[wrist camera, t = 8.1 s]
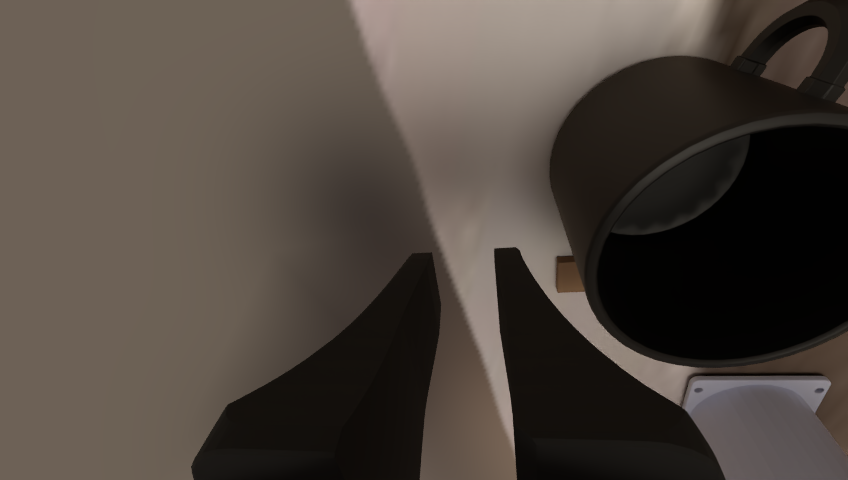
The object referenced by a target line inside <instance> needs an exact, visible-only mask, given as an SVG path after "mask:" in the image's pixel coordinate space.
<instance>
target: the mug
mask: <svg viewBox="0 0 848 480" xmlns="http://www.w3.org/2000/svg"><path fill="white" fill-rule="evenodd" d="M815 27H825V28H827V30H828V40H827V45H826V48H825V51H824V53H823V56H822V58H821V60H820V61H819V63H818V65H817V67H816V68H815V70H814V71H813V73H812V75H811V76H810V77H806V78H805V79H804V81H803V82H802V83H801V84H800V86H799V87H798V88H797V89H794V88H791V87H789V86H786V85H783V84H780V83H777V82H774V81H771V80H768V79H765V78H763V77H760V75H761V74H762V73H763V71H764V70H765V68H766V65H765V64H766V63H767V62H768V60H769V59H770V58H771V57H772V56H773V55H774V54H775V53H776V51H778V50H779V49H780V48H781V47H782V46H783V45H784V44H785V43H786V42H788V41H789V40H790V39H792V38H793V37H795V36H796V35H798V34H800V33H802V32H804V31H806V30H808V29H811V28H815ZM847 81H848V0H808V1H806V2H804V3H803V4H801V5H799V6H797V7H795V8H794V9H792V10H790V11H788V12H786V13H785V14H783V15H782V16H780V17H779V18H777V19H776V20H775V21H774V22H772V23H771V24H770V25H769V26H768V27H767V28H765V29H764V30H763V31H762V32H761V33H760V34H759V35H758V36H757V37H756V38H755V39H754V41H753V42H752V43H751V44H750V45H749V47H748V48H747V49H746V50H745V52H744V53H743V54H742V55H741V56H737V57H736V58H735V60H734V61H733V63H732V64H731V66H728V65H725V64H722V63H719V62H716V61H713V60H708V59H704V58H699V57H689V56H674V57H664V58H659V59H654V60H650V61H646V62H642V63H640V64H637V65H635V66H632V67H630V68H627V69H625V70H623V71H621V72H619V73H617V74H616V75H614V76H612V77H610V78H608V79H607V80H605V81H604V82H603V83H601V84H600V85H599V86H597V87H596V88H595V89H593V90H592V91H591V92H590V93H589V94H588V95H587V96H586V97H585V98H584V99H583V100H582V101H581V102H580V103H579V104H578V105H577V106H576V107H575V109H574V110H573V111H572V112H571V114H570V115H569V116H568V118H567V119H566V121H565V123H564V124H563V126H562V128H561V130H560V131H559V134H558V136H557V139H556V141H555V144H554V147H553V150H552V155H551V159H550V183H551V189H552V192H553V195H554V198H555V201H556V204H557V207H558V210H559V213H560V217H561V220H562V223H563V226H564V229H565V232H566V235H567V238H568V241H569V244H570V247H571V250H572V253H573V256H574V259H575V262H576V266H577V269H578V272H579V275H580V278H581V281H582V284H583V287H584V290H585V293H586V296H587V299H588V302H589V305H590V307H591V309H592V311H593V313H594V314H595V316H596V318H597V320H598V321H599V322H600V323H601V325H602V326H603V327H604V328H605V329H606V330H607V331H608V332H609V333H610V334H611V335H612V336H613V337H614V338H616V339H617V340H618V341H619V342H621V343H622V344H623V345H625V346H626V347H628V348H630V349H632V350H634V351H636V352H637V353H640V354H642V355H644V356H647V357H650V358H652V359H655V360H658V361H662V362H666V363H671V364H675V365H682V366H690V367H705V368H721V367H736V366H745V365H751V364H757V363H763V362H767V361H772V360H776V359H780V358H784V357H787V356H791V355H794V354H797V353H799V352H802V351H805V350H808V349H811V348H813V347H816V346H818V345H820V344H823V343H825V342H827V341H829V340H832V339H834V338H836V337H838V336H840V335H842V334H843V333H845V332H847V331H848V107H846V106H843V105H840V104H838V103H835V102H836V100H837V99H838V98H839V97H840V96H841V94H842V93H843V92H844V91H845V88H844V86H845V84H846V83H847Z"/></svg>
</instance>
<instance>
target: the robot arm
mask: <svg viewBox="0 0 848 480" xmlns="http://www.w3.org/2000/svg"><path fill="white" fill-rule="evenodd" d="M494 258H495V273H496V286H497V298H498V311H499V324H500V334H501V341H502V347H503V353H504V359H505V366H506V372H507V378H508V384H509V391H510V397H511V405H512V413H513V427H514V442H515V457H516V472H517V480H848V456H847V455H846V453H845V452H844V451H843V450H842V448H841V447H840V446H839V444H838V443H837V442H836V440H835V439H834V438H833V436H832V435H831V434H830V433H829V431H828V430H827V429H826V427H825V426H824V425H823V423H822V422H821V421H820V420H819V418H818V417H817V416H816V414H815V412H816V410H817V409H818V407H819V405H820V403H821V401H822V400H823V398H824V396H825V394H826V393H827V391H828V389H829V387H830V385H831V382H830V381H829V380H828V378H827V377H825V376H695V377H693V378H691V379H690V381H689V384H688V388H687V392H686V395H685V399H684V402H683V406H682V408H681V407H680V406H678V405H676V404H675V403H673V402H672V401H670V400H668V399H667V398H665V397H663V396H662V395H660V394H659V393H657V392H655V391H654V390H652V389H651V388H649V387H647V386H646V385H644V384H643V383H641V382H640V381H638V380H637V379H635V378H634V377H633V376H631V375H630V374H628V373H627V372H626V371H624V370H623V369H622V368H620V367H619V366H618V365H617V364H615V363H614V362H613V361H612V360H611V359H609V358H608V357H607V356H606V355H604V354H603V353H602V352H601V351H599V350H598V349H597V348H596V347H595V346H593V345H592V344H591V343H590V342H589V341H588V340H587V339H586V338H585V337H584V336H583V335H582V334H580V332H579V331H578V330H577V329H576V328H575V327H574V326H573V325H572V324H571V323H570V322H569V321H568V320H567V319H566V318H565V317H564V316H563V315H562V314H561V312H560V311H559V310H558V309H557V308H556V307H555V305H554V304H553V303H552V302H551V301H550V299H549V298H548V297H547V295H546V294H545V293H544V291H543V290H542V289H541V287H540V286H539V284H538V283H537V281H536V280H535V279H534V277H533V276H532V274H531V272H530V271H529V269H528V267H527V266H526V264H525V262H524V260H523V258H522V256H521V253H520V250H518V249H517V248H516V247H513V248H497V249H494ZM440 313H441V302H440V296H439V291H438V285H437V280H436V273H435V268H434V262H433V256H432V253H414V254H412V255H411V256H410V257H409V258H408V259H407V260H406V262H405V263H404V264H403V266H402V267H401V268H400V269H399V271H398V272H397V273H396V274H395V276H394V277H393V278H392V280H391V281H390V282H389V283H388V284H387V286H386V287H385V288H384V289H383V290H382V292H381V293H380V294H379V295H378V296H377V297H376V298H375V300H374V301H373V302H372V303H371V304H370V305H369V306H368V307H367V308H366V309H365V310H364V311H363V312H362V313H361V314H360V315H359V316H358V317H357V318H356V319H355V320H354V321H353V322H352V323H351V324H350V325H349V326H348V327H347V328H345V330H343V331H342V332H341V333H340V334H339V335H337V336H336V337H335V338H334V339H333V340H331V341H330V342H328V343H327V344H326V345H325V346H323V347H322V348H321V349H319V350H318V351H317V352H315V353H314V354H313V355H311V356H310V357H309V358H307V359H306V360H304V361H303V362H301V363H300V364H298V365H297V366H295V367H294V368H292V369H291V370H289V371H288V372H286V373H284V374H283V375H281V376H279V377H278V378H276V379H274V380H273V381H271V382H269V383H268V384H266V385H264V386H262V387H260V388H258V389H257V390H255V391H253V392H251V393H249V394H247V395H245V396H244V397H242V398H240V399H238V400H236V401H234V402H232V403H230V404H228V405H227V407H226V408H225V410H224V411H223V413H222V414H221V416H220V418H219V419H218V421H217V422H216V424H215V426H214V427H213V429H212V431H211V432H210V434H209V436H208V437H207V439H206V441H205V443H204V444H203V446H202V447H201V449H200V451H199V452H198V454H197V456H196V457H195V459H194V461H193V464H192V466H191V468H192V474H193V478H194V480H420V479H419V478H420V467H421V453H422V440H423V429H424V417H425V408H426V402H427V396H428V390H429V385H430V380H431V375H432V369H433V364H434V359H435V354H436V348H437V343H438V337H439V329H440Z"/></svg>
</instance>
